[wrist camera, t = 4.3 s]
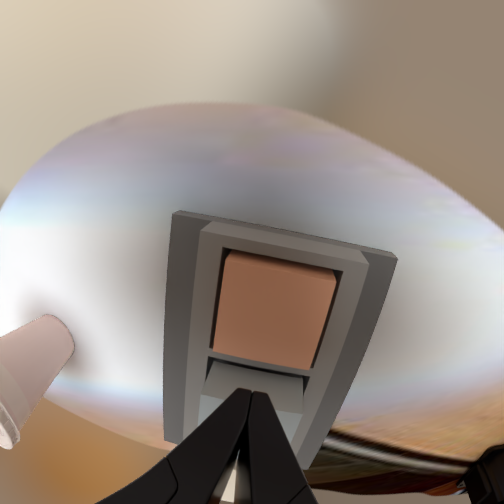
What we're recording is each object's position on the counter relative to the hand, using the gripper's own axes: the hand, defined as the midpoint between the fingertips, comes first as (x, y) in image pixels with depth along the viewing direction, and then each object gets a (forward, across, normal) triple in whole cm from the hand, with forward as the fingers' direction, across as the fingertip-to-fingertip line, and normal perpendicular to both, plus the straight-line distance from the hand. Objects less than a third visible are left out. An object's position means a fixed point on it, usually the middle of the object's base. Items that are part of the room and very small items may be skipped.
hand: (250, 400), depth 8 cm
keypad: (+9, 0, +6) cm, 10 cm away
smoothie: (+9, +15, +8) cm, 19 cm away
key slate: (+6, 0, +6) cm, 8 cm away
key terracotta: (+8, 0, 0) cm, 8 cm away
